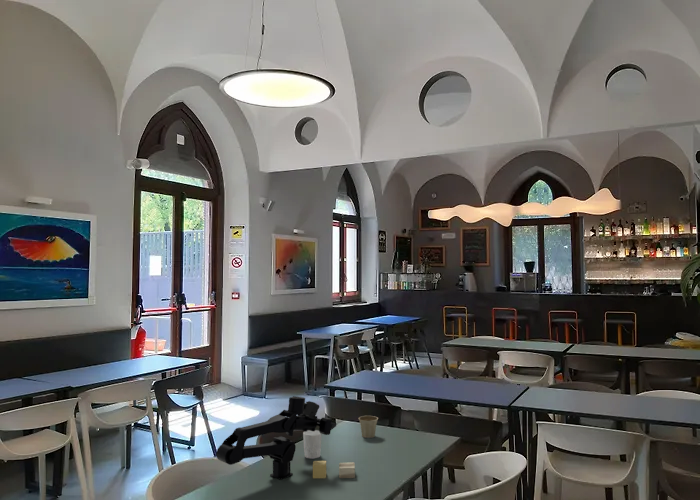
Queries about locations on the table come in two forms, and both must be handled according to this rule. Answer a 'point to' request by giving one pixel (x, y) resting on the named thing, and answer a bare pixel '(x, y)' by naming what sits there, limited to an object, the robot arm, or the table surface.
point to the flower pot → (368, 426)
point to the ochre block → (319, 469)
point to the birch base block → (346, 470)
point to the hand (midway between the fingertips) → (328, 422)
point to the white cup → (312, 444)
